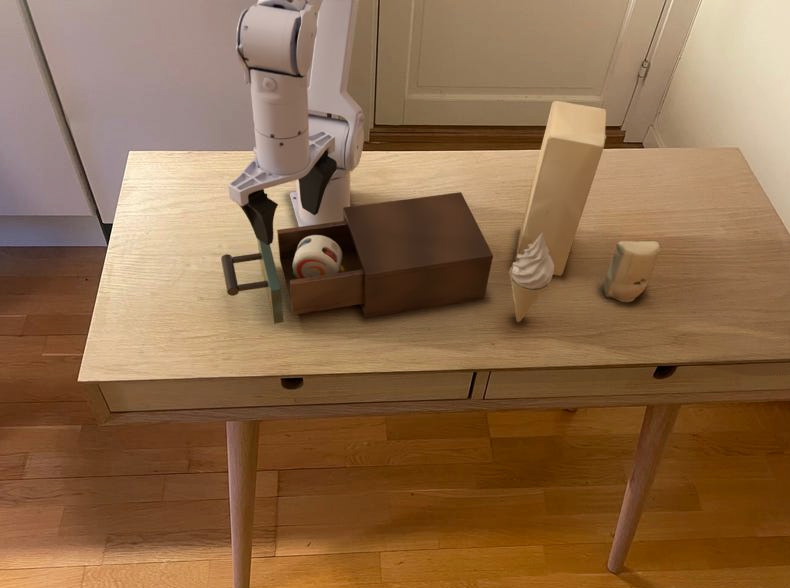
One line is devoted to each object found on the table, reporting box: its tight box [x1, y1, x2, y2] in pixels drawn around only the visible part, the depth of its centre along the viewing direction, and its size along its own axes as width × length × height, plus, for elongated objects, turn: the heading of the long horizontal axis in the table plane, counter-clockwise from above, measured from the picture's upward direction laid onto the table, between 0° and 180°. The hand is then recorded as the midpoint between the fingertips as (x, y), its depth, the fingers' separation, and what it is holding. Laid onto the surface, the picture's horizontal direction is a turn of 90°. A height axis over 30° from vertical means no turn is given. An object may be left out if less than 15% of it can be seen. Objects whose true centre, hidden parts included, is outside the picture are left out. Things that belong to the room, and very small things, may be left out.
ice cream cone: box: [509, 232, 554, 323], centre depth 91 cm, size 5×5×15 cm
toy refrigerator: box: [514, 100, 607, 277], centre depth 97 cm, size 8×7×21 cm
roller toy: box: [293, 235, 344, 279], centre depth 94 cm, size 4×6×6 cm
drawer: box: [220, 221, 365, 324], centre depth 95 cm, size 20×11×6 cm, turn 106°
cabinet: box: [343, 191, 494, 318], centre depth 98 cm, size 16×13×8 cm
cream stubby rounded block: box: [602, 240, 662, 303], centre depth 98 cm, size 6×5×8 cm
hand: (287, 225), depth 90 cm, fingers open, 7 cm apart
